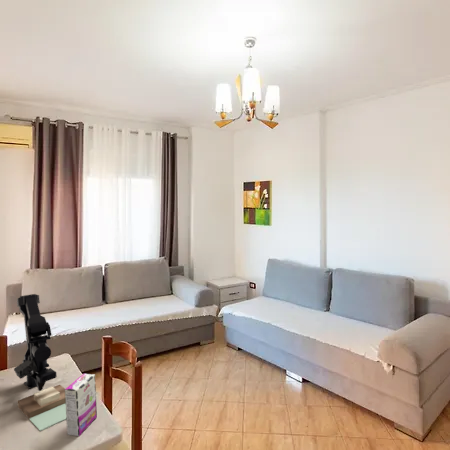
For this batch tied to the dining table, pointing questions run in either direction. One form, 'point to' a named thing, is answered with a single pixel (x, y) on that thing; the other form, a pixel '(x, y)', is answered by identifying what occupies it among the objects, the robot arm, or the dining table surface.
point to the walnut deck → (34, 408)
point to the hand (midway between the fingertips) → (40, 390)
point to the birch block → (46, 396)
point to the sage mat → (49, 417)
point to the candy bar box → (80, 404)
